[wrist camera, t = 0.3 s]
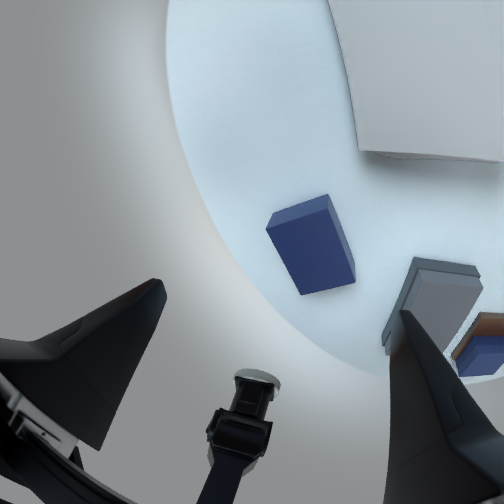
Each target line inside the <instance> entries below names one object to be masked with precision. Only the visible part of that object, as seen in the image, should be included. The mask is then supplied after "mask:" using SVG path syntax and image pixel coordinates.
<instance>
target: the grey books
mask: <svg viewBox="0 0 504 504" xmlns="http://www.w3.org/2000/svg"><path fill="white" fill-rule="evenodd" d="M479 279H480V274H479V272H478V270H477V269H476V267H475V266H470V265H463V264H457V263H450V262H443V261H437V260H430V259H423V258H416V257H414V258H413V261H412V264H411V267H410V269H409V272H408V275H407V277H406V280H405V283H404V285H403V288H402V290H401V293H400V295H399V298H398V300H397V303H396V305H395V307H394V310H393V312H392V314H391V316H390V319H389V321H388V323H387V325H386V327H385V330H384V332H383V334H382V346H385V352H386V355H390V345H391V326H392V323H393V321H394V318H395V316H396V313H397V311H398V310H399V309H408V310H410V311H411V312H412V314H413V315H414V316H415V317H416V319H417V320H418V321H419V323H420V324H421V325H422V327H423V328H424V329H425V330H426V332H427V333H428V334H429V336H430V337H431V339H432V340H433V341H434V343H435V344H436V345H437V347H438V348H439V350H440V351H441V352H442V353H443V352H444V350H445V349H446V348H447V346H448V345H449V343H450V342H451V340H452V339H453V338H454V336H455V335H456V333H457V332H458V330H459V329H460V327H461V325H462V324H463V322H464V321H465V319H466V317H467V316H468V314H469V313H470V311H471V309H472V307H473V306H474V304H475V302H476V301H477V299H478V297H479V295H480V293H481V291H482V290H483V286H482V284H481V282H480V280H479Z"/></svg>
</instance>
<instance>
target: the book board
mask: <svg viewBox="0 0 504 504" xmlns="http://www.w3.org/2000/svg"><path fill="white" fill-rule="evenodd" d="M473 336H504V314H500V313H483V312H480V313H479V314H478V316H477V318H476V319H475V321H474V322H473V324H472V325H471V327H470V328H469V330H468V331H467V333H466V334H465V336H464V337H463V339H462V340H461V342H460V343H459V344H458V346H457V347H456V348H455V350H454V351H453V352H452V354H451V356H452V360H456V358H457V357H458V356H459V355H460V353H461V352H462V351H463V349H464V348H465V347H466V345H467V344H468V343H469V341H470V340H471V339H472V337H473Z"/></svg>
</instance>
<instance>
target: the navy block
mask: <svg viewBox="0 0 504 504" xmlns="http://www.w3.org/2000/svg"><path fill="white" fill-rule="evenodd" d="M266 231H267V233H268V234H269V236H270V238H271V240H272V242H273V244H274V246H275V248H276V249H277V251H278V253H279V255H280V257H281V259H282V261H283V263H284V264H285V266H286V268H287V270H288V272H289V274H290V276H291V278H292V280H293V281H294V283H295V285H296V287H297V289H298V291H299V293H300V295H305V294H310V293H314V292H318V291H323V290H327V289H331V288H335V287H339V286H343V285H347V284H351V283H355V282H356V280H355V263H354V260H353V257H352V254H351V251H350V249H349V246H348V243H347V240H346V238H345V235H344V232H343V230H342V227H341V224H340V222H339V219H338V217H337V214H336V212H335V209H334V207H333V204H332V202H331V200H330V197H329V195H328V194H326V195H323V196H320V197H317V198H315V199H312V200H309V201H306V202H303V203H300V204H297V205H295V206H292V207H289V208H286V209H283V210H280V211H278V212H275V213H273V214H272V216H271V218H270V221H269V223H268V225H267V227H266Z"/></svg>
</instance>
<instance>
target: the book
mask: <svg viewBox="0 0 504 504" xmlns="http://www.w3.org/2000/svg"><path fill="white" fill-rule="evenodd" d="M328 3H329V6H330V9H331V13H332V16H333V19H334V23H335V27H336V30H337V34H338V38H339V42H340V46H341V50H342V54H343V59H344V63H345V68H346V73H347V78H348V83H349V88H350V94H351V100H352V106H353V112H354V119H355V126H356V133H357V142H358V150H365V151H374V152H375V153H376V154H378V155H380V156H384V157H389V158H394V159H427V160H457V161H474V162H487V163H495V162H500V161H501V162H504V0H328Z"/></svg>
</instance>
